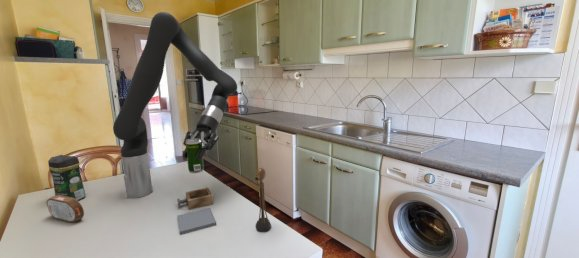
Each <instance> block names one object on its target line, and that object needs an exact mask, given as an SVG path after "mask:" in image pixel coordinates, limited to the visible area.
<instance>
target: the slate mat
mask: <svg viewBox="0 0 579 258" xmlns="http://www.w3.org/2000/svg"><path fill="white" fill-rule="evenodd" d="M176 217H177V218H176V219H177V222H178V229H179V235H185V234H189V233H192V232H195V231H199V230H203V229H207V228H210V227H214V226H217V220H216V218H215V216H214V213H213V211H212V209H211V207H208V208H203V209H198V210H194V211H190V212H186V213H182V214H178V215H177V216H176Z"/></svg>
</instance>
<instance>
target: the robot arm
mask: <svg viewBox="0 0 579 258" xmlns="http://www.w3.org/2000/svg"><path fill="white" fill-rule="evenodd" d="M148 29H149V30H148V34H147V38H146V41H145V42H146V43H145V46H144V48H143V51H142V53H141V54H140V57H139V58H138V62H137V64H136V67H135V69H134V72H133V75H132V77H131V82H130V84H129V86H128V90H127V92H126V95H125V99H124V102H123V104H122V107H121V108H120V110H119V113H118V115H117V116H116V119H115V121H114V122H113V125H112V129H113V134H114V135H115V137H116V138H117V139H118V140H121V141H123V144H122V147H121V149H120V156H121V162H122V168H123V181H124V188H125V192H126V198H127V199H130V198H131V199H137V198H143V197H146V196H148V195H150V194H151V193H153V191H154V190H153V185H152V184H153V183H152V177H151V169H150V163H149V156H148V155H149V154H148V145H149V141H148V139H149V138H148V129H147V124H146V122H145V120H144V118H142V115H143V113H144V111H145V109H146V107H147V105H148V104H149V103H150V101H151V100H152V99H153V97H154V95H155V94H156V92H157V91H158V88H159V86H160V84H161V80H162V78H163V74H164V69H165V63H166V62H165V61H166V57H167V52H168V50H169V48H170V46H171V45H173V46H174V47H175V48H176V49H177V50H179V52H181V54H182V55H183V56H184V57H185V59H186V60H187V61H188V62H189V63H190V64H191V66H192V67H193V68H194V69H195V70H196V71H197V72H198V73H199V74H200V75H201V76H202V77H203V78H204V80H206V81H208V82H215V83H216V85H215V86H214V88H213V91H212V92H211V93H212V94H211V98H210V99H209V102H208V103H207V105H206V106H205V108H204V110H203V111H202V113H201V115H200V117H199V118H198V121H197V123H196V129H195V130H194V131H187V132H186V134H185V138H184V140H183V142H182V144H183V145H184V146H185V147H186V140H187V139H192V138H200V140H201V148H200V149H199V151H198V153H197V155H196V158H197V159H198V160H201V158H202V157H203V158H204V155H205V153H206V152H207V151H212V150H213V148H214V146H215V145H216V143H217V142H218V140H219V139H220V138H219V136H218V134H216V132H217V130H218V128H219V125H220V123H221V121H222V119H223V115H224V114H225V111H226V109H227V107H228V98H229V97H231V96H232V95H233V94H235V93H236V92H237V90H238V83H237V81H236V80H235V79H234V78H233V77H232V76H231V75H229V74H228V73H226V71H223V70H222V69H220V68H219V67H218V66H217V65H216V64H215V63H214V62H213V60H211V59H210V58H209V57H208V55H206V54H205V52H203V51H202V50H201V49H200V48H199V47H198V46H197V45H196V44H195V43H194V42H193V41H192V40H191V38H190V37H189V36H188V35H187V33H186V32H185V30H184V29H183V28H182V26H181V25H180V22H179V21H178V20H177V18H175V16H173V15H172V14H171V13H169V12H166V11H161V12H160V11H159V12H157V13H156V14H155V15H153V17H152V18H151V21H150V25H149V28H148ZM182 156H183V157H184V158H185V159H187V152H186V148H185V149H184V151H183V153H182Z"/></svg>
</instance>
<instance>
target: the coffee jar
mask: <svg viewBox="0 0 579 258" xmlns="http://www.w3.org/2000/svg"><path fill="white" fill-rule="evenodd" d="M47 162H48V169H49V170H50V171H49V172H50V174H51V179H52V182H53V183H52V184H53V190H54V196H55V195H62V196H67V197H72V198H75V199H76V200H77V201H78V202H80V201H81V200H82V199H84V198H85V197H86V195H87V194H86V190H85V187H84V183H83V179H82V175H81V170H80V169H81V168H80V160H79V158H78V156H75V155H63V154H59V155H55V156H52V157H50V159H48V161H47Z"/></svg>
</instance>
